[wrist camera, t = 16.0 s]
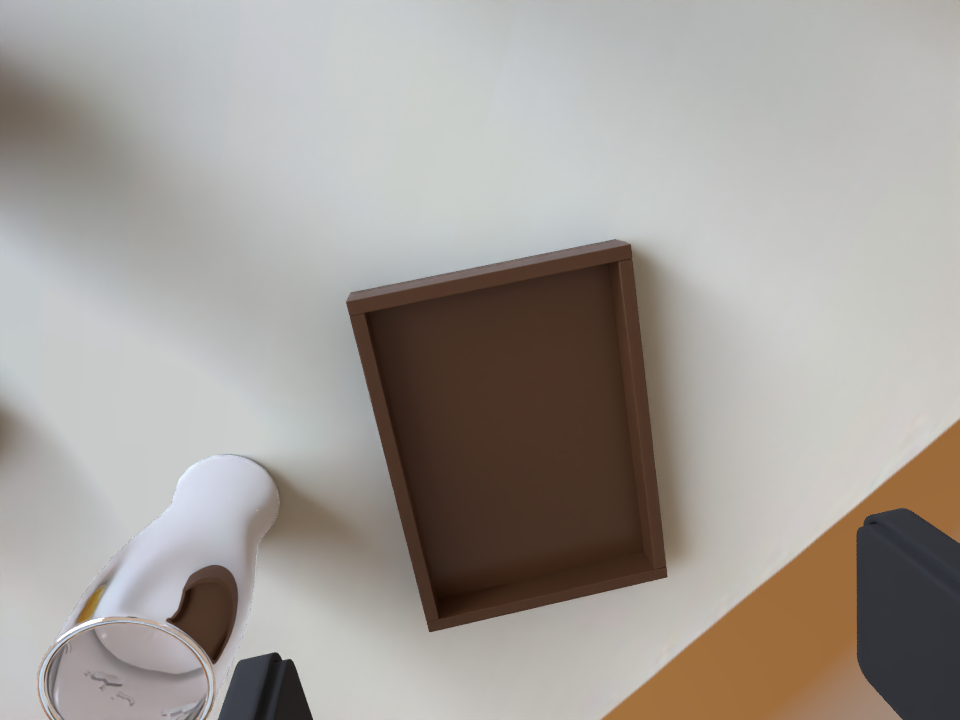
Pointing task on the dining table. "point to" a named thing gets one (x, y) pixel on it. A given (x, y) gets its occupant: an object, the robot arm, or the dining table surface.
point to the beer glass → (166, 605)
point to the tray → (516, 430)
